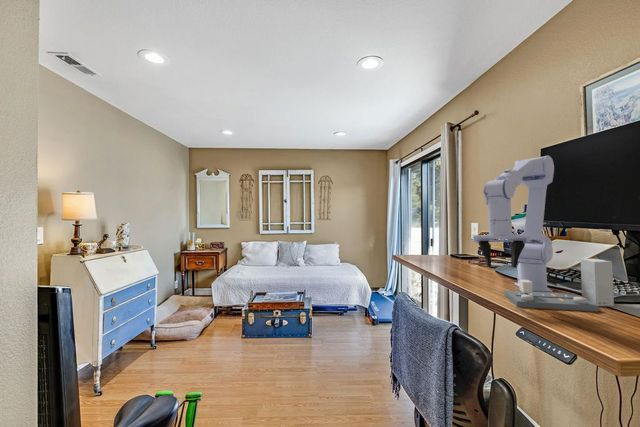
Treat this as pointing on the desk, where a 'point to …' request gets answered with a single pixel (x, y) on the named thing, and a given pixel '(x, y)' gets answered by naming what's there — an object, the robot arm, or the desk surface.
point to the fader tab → (525, 286)
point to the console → (551, 300)
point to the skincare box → (597, 281)
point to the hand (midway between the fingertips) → (501, 266)
